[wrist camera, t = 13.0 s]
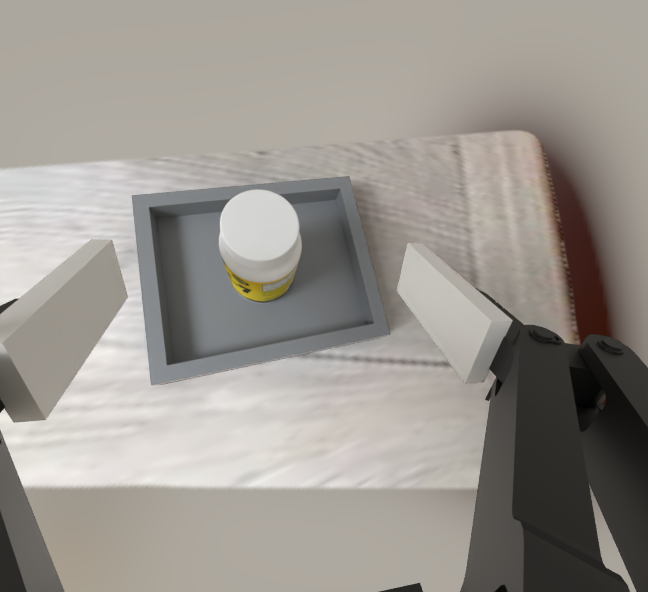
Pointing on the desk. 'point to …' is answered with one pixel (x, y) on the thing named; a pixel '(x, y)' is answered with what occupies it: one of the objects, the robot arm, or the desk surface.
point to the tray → (228, 305)
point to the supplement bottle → (260, 244)
